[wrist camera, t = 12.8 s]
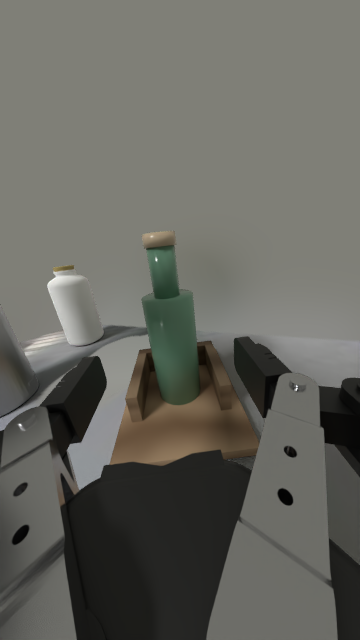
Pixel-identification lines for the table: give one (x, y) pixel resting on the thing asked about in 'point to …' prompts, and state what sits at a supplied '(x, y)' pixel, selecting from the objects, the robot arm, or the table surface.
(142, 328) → the table surface
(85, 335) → the potion bottle
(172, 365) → the bottle
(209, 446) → the bottle rest
